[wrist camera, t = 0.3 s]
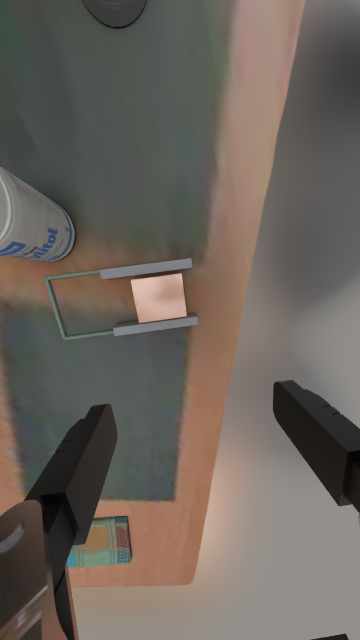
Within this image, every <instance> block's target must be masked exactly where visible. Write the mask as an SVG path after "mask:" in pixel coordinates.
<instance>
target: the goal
mask: <svg viewBox="0 0 360 640" xmlns="http://www.w3.org/2000/svg"><path fill="white" fill-rule="evenodd" d="M98 273H100V270H96V271H88V272H80V273H73V274H65V275H57V276H49V277H44V280H45V283H46V286H47V289H48V293H49V296H50V299H51V302H52V306H53V309H54V312H55V315H56V318H57V322H58V325H59V328H60V331H61V334H62V338H63V340H69V339H76V338H83V337H90V336H98V335H105V334H112V333H114V330H109V331H102V332H95V333H88V334H80V335H73V336H67V335H66V332H65V328H64V325H63V322H62V318H61V315H60V312H59V309H58V305H57V302H56V299H55V295H54V292H53V289H52V285H51V282H50V280H51V279H59V278H67V277H74V276H82V275H90V274H98Z"/></svg>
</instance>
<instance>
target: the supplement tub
mask: <svg viewBox="0 0 360 640" xmlns="http://www.w3.org/2000/svg"><path fill="white" fill-rule="evenodd" d="M74 238H75V232H74V227H73V224H72V221H71V219H70V217H69V216H68V214H67V213H66V212H65V210H64V209H63V208H62V207H60V206H59V205H58V204H56V203H55V202H53V201H52V200H50V199H49V198H47V197H46V196H44V195H43V194H41V193H40V192H38V191H37V190H35V189H34V188H32V187H31V186H29V185H28V184H26V183H25V182H23V181H22V180H20V179H19V178H17V177H16V176H14V175H12V174H11V173H9V172H8V171H6V170H5V169H3V168H2V167H0V256H6V257H14V258H22V259H30V260H39V261H47V262H49V261H57V260H59V259H62V258H63V257H65V256H66V255H67V254H68V253H69V252H70V250H71V249H72V246H73V243H74Z"/></svg>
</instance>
